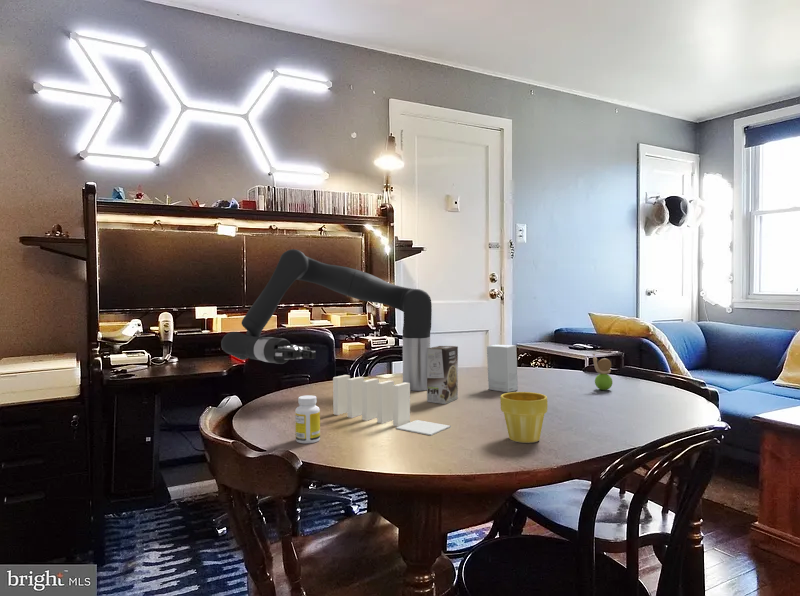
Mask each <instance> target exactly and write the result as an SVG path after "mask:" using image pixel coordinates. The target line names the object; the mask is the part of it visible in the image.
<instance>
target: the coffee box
mask: <svg viewBox="0 0 800 596" xmlns="http://www.w3.org/2000/svg"><path fill="white" fill-rule="evenodd" d="M458 353H459V347H458V345H457V346H456V345H455V346H454V345H437V346H433V347H430V348H427V390H426V402H428V403H434V404H441V405H446V404H448V403H451V402H453V401H455V400H457V399H458V398H459V395H458V394H459V388H458V387H459V381H458V380H459V378H458V377H459V375H458V374H459V369H458V368H459V367H458V366H459V355H458Z"/></svg>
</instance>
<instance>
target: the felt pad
mask: <svg viewBox="0 0 800 596" xmlns="http://www.w3.org/2000/svg"><path fill="white" fill-rule="evenodd" d="M451 427H452V426H451V425H447V424H442V423H438V422H437V423H436V422H431V421H425V420H420V419H416V420H413V421H410V423H407V424H404V425H402V426H399V427H397V426H395V429H396V430H399V431H400V430H401V431H406V432H411V433H415V434H421V435H428V436H433V435H435V434H438V433H440V432H442V431H444V430H448V429H450V428H451Z"/></svg>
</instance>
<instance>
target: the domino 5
mask: <svg viewBox="0 0 800 596" xmlns="http://www.w3.org/2000/svg"><path fill="white" fill-rule="evenodd" d="M410 422H411V390H410V383H406V382H404V383H403V382H401V383H397V384H394V385H393V420H392V426H394V427H399V426H402V425H404V424H407V423H410Z"/></svg>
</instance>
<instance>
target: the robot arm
mask: <svg viewBox="0 0 800 596" xmlns="http://www.w3.org/2000/svg"><path fill="white" fill-rule="evenodd" d="M296 280H297V281H302V282H303V281H304V282H308V283H313V284H316V285H319V286H322V287H323V288H326V289H328V290H331V291H333V292H335V293H338V294H341V295H343V296H346V297H350V298H352V299H356V300H360V301H365V302H368V303H375V304H380V305H381V304H382V305H386V306H388V307H391V308H394V309H396V310H398V311H402V312H403V324H402V325H403V326H402V383H404V382H406V383H410V391H412V392H413V391H416V392H417V391H419V392H420V391H427V348H431V330H432V313H433V312H432V311H433V310H432V306H433V305H432V299H431V296H430V295H429V293H428V292H427V291H425V290H423V289H419V288H409V287H404V286H401V285H396V284H393V283H390V282H388V281H386V280H384V279H382V278H380V277H377V276H375V275H373V274H370V273H368V272H365V271H362V270H359V269H355V268H351V267H347V266H341V265H336V264H328V263H324V262H321V261H319V260H316V259H314V258H312V257H309V256H307V255H305V253H304V252H302V251H301V250H299V249H293V248H292V249H288V250H286V251H284V252H283V253H282V254H281V255H280V257H279V261H278V262H277V265H276V267H275V269H274V271H273V274H272V275H271V278H269V280H268V281H267V284H266V285H265V287H264V288H263V290H262V291H261V293H260V294H259V296H258V297H257V298H256V300H255V301H254V303H253V304H252V305H251V306H250V308H249V309H248V311H246V312H247V313H246V314H245V315H244V317H243V319H242V320H241V325H242V327H243V328H244V329H245V330H246V334H245V333H243V332H238V331H230V332H228V333H226V334H225V335H224V336H223V337H222V338H221V342H220V347H221V349H222V351H223V352H224V353H226V354H228V355H230V356H232V357H234V358H237V359H238V360H241V361H243V360H244V361H245V360H248V359H250V360H256V361H262V362H265V363H270V364H277V365H279V364H280V365H283V364H286V363H287V362H288V361H289V360H302V359H307V360H313V359H316V356H317V355H316V350H311V348H310V347H309V346H307V345H305V346H299V345H296V344H292V343H291V342H290V341H289V340H288V339H286V338H282V337H280V338H279V337H272V336H267V337H264V336H261V334H262V332H263V330H264V328H265V327H266V325H267V324H268V322H269V321H270V320H271V318H272V316H273V315H274V313H275V311H276V310H277V308H278V305H279V304H280V302H281V300H282V298H283V297H284V295H285V294H286V292H287V291H288V290H289V288H290V287H291V286H292V285H293V283H294V282H295V281H296Z"/></svg>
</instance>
